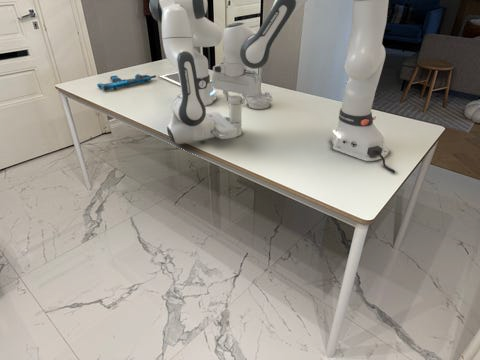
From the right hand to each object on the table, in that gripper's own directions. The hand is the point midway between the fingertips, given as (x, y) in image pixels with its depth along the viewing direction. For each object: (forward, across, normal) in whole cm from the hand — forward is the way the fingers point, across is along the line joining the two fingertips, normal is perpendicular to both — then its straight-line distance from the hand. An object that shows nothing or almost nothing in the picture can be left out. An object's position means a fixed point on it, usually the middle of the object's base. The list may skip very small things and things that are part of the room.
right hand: (235, 102), depth 140 cm
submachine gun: (+14, +95, -29) cm, 100 cm away
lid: (-2, 0, 0) cm, 2 cm away
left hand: (+9, 0, -1) cm, 9 cm away
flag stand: (+14, +7, -35) cm, 39 cm away
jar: (+14, 0, 0) cm, 14 cm away
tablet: (+14, +68, -53) cm, 87 cm away
